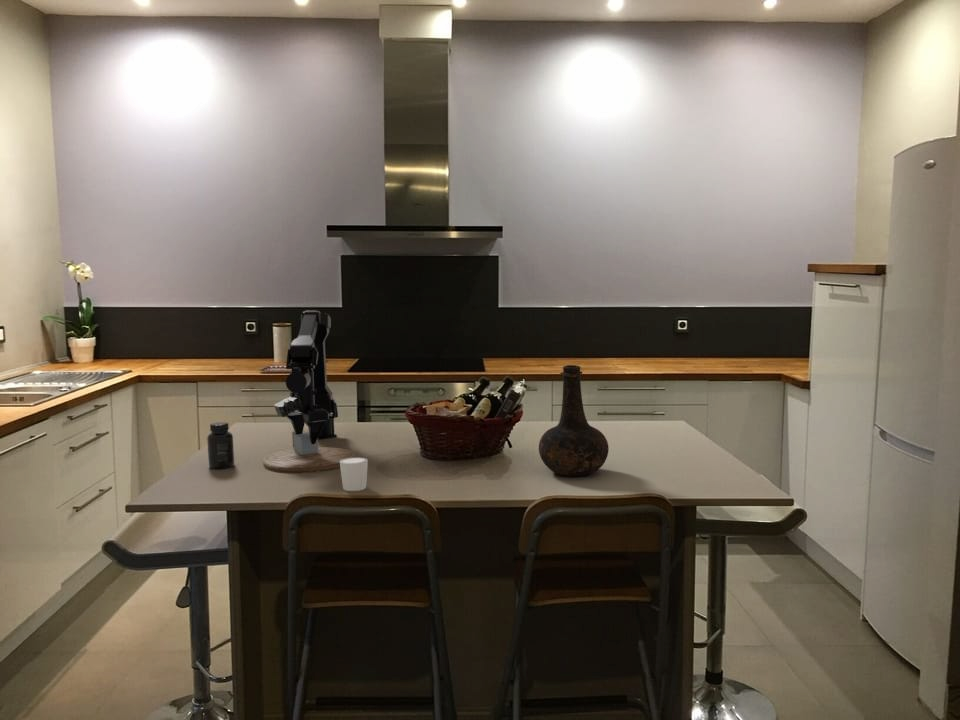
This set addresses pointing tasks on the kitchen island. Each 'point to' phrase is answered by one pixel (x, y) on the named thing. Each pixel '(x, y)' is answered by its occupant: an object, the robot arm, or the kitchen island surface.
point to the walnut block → (302, 433)
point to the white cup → (354, 473)
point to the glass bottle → (573, 434)
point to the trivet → (306, 460)
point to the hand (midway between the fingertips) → (305, 441)
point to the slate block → (304, 444)
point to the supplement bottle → (220, 446)
